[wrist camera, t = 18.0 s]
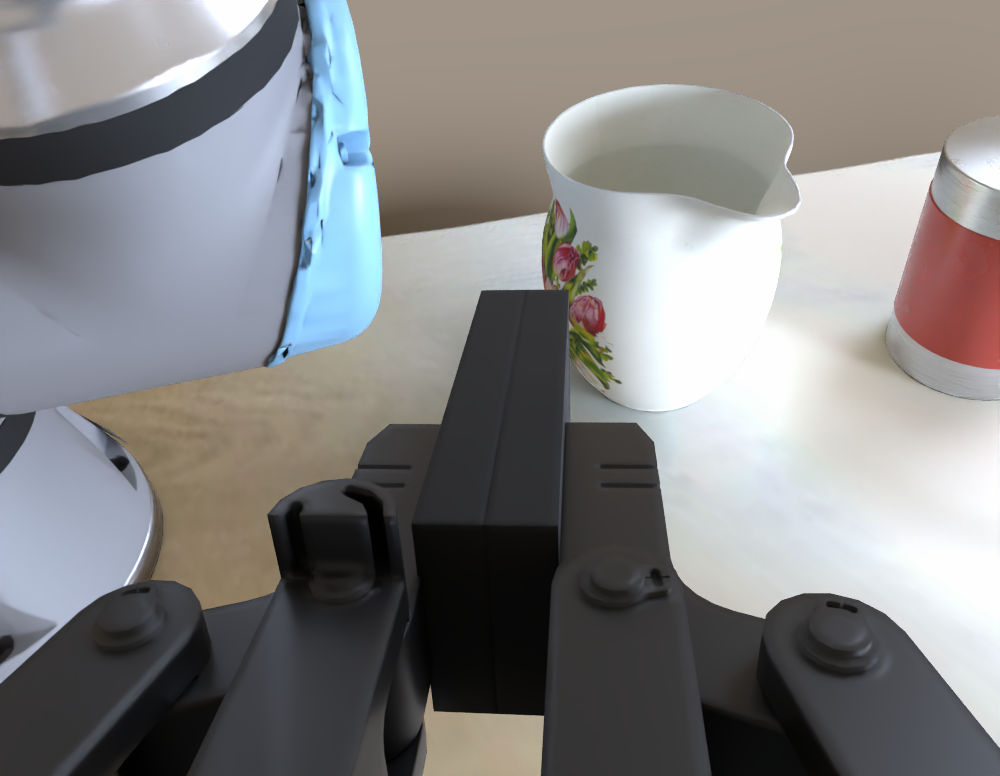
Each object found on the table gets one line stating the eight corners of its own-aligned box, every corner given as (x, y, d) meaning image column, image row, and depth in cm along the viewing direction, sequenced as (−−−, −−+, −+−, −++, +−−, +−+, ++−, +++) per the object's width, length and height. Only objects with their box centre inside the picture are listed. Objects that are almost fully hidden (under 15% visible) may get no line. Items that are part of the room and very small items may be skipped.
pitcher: (647, 244, 52) (657, 20, 42) (839, 430, 39) (913, 171, 30) (486, 297, 49) (458, 71, 40) (636, 513, 37) (646, 260, 27)
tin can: (898, 398, 40) (966, 203, 33) (872, 301, 46) (925, 114, 38) (1072, 405, 39) (1184, 203, 32) (1023, 304, 45) (1109, 111, 37)
